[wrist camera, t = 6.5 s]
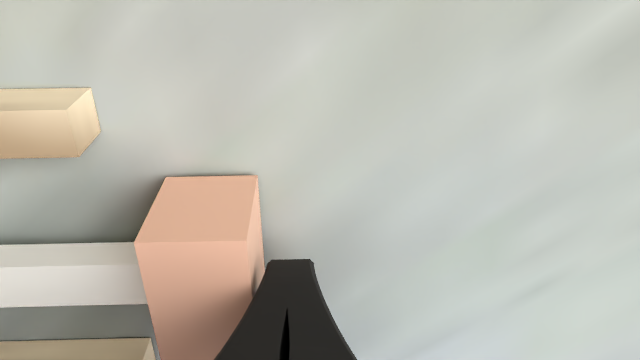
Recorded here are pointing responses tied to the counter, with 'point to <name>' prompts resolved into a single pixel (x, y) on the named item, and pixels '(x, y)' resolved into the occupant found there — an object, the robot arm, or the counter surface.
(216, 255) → the peach and white mallet
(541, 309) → the counter surface
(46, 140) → the channel
